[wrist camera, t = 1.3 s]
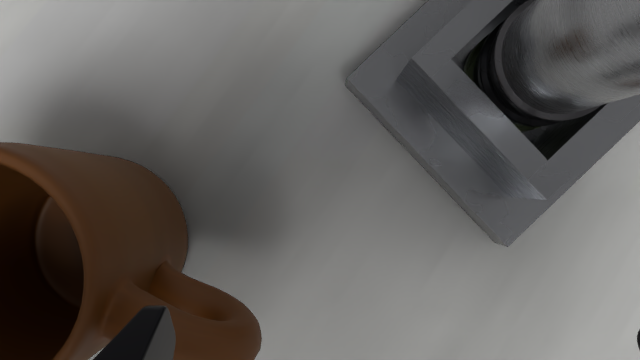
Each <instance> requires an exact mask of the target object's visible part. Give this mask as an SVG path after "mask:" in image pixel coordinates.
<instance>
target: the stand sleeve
mask: <svg viewBox="0 0 640 360" xmlns="http://www.w3.org/2000/svg"><path fill="white" fill-rule="evenodd" d="M526 1H528V0H428V1H427V2H426V3H425V4H424V5H423V6H422V7H421V8H420V9H419V10H418V11H417V12H416V13H415V14H414V15H413V16H412V17H410V18H409V19H408V20H407V21H406V22H405V23H404V24H403V25H402V26H401V27H400V28H399V29H398V30H397V31H396V32H395V33H394V34H393V35H391V36H390V37H389V38H388V39H387V40H386V41H385V42H384V43H383V44H382V45H381V46H380V47H379V48H378V49H377V50H376V51H375V52H374V53H372V54H371V55H370V56H369V57H368V58H367V59H366V60H365V61H364V62H363V63H362V64H361V65H360V66H359V67H358V68H357V69H356V70H355V71H354V72H352V73H351V74H350V75H349V76H348V77H347V79H346V83H345V86H346V87H347V88H348V89H349V90H350V91H351V92H352V93H353V94H354V95H355V96H356V97H357V98H358V99H359V100H360V101H361V102H362V104H363V105H364V106H365V107H366V108H367V109H368V110H369V111H370V112H371V113H372V114H373V115H374V116H375V117H376V118H377V119H378V120H379V121H380V122H381V123H382V125H383V126H384V127H385V128H386V129H387V130H388V131H389V132H390V133H391V134H392V135H393V136H394V137H395V138H396V139H397V140H398V141H399V142H400V143H401V144H402V146H403V147H404V148H405V149H406V150H407V151H408V152H409V153H410V154H411V155H412V156H413V157H414V158H415V159H416V160H417V161H418V162H419V163H420V164H421V166H422V167H423V168H424V169H425V170H426V171H427V172H428V173H429V174H430V175H431V176H432V177H433V178H434V179H435V180H436V181H437V182H438V183H439V184H440V185H441V187H442V188H443V189H444V190H445V191H446V192H447V193H448V194H449V195H450V196H451V197H452V198H453V199H454V200H455V201H456V202H457V203H458V204H459V205H460V206H461V208H462V209H463V210H464V211H465V212H466V213H467V214H468V215H469V216H470V217H471V218H472V219H473V220H474V221H475V222H476V223H477V224H478V225H479V226H480V228H481V229H482V230H483V231H484V232H485V233H486V234H487V235H488V236H489V237H490V238H491V239H492V240H493V241H494V242H495V243H498V244H501V245H504V246H507V247H508V246H509V245H510V244H511V243H512V242H513V241H514V240H515V239H516V238H517V237H518V236H519V235H521V234H522V233H523V232H524V231H525V230H526V229H527V228H528V227H529V226H530V225H531V224H532V223H533V222H534V221H535V220H536V219H537V218H538V217H539V216H540V215H541V214H543V213H544V212H545V211H546V210H547V209H548V208H549V207H550V206H551V205H552V204H553V203H554V202H555V201H556V200H557V199H558V198H559V197H560V196H561V195H562V194H564V193H565V192H566V191H567V190H568V189H569V188H570V187H571V186H572V185H573V184H574V183H575V182H576V181H577V180H578V179H579V178H580V177H581V176H582V175H583V174H585V173H586V172H587V171H588V170H589V169H590V168H591V167H592V166H593V165H594V164H595V163H596V162H597V161H598V160H599V159H600V158H601V157H602V156H603V155H604V154H605V153H607V152H608V151H609V150H610V149H611V148H612V147H613V146H614V145H615V144H616V143H617V142H618V141H619V140H620V139H621V138H622V137H623V136H624V135H625V134H626V133H628V132H629V131H630V130H631V129H632V128H633V127H634V126H635V125H636V124H637V123H638V122H639V121H640V94H639V95H635V96H632V97H628V98H625V99H621V100H617V101H614V102H610V103H607V104H603V105H601V106H600V107H598V108H597V109H596V110H594V111H592V112H591V113H589V114H586V115H584V116H582V117H578V118H575V119H571V120H567V121H562V122H559V123H556V124H552V125H548V126H542V127H539V128H536V129H533V130H529V131H524V132H520V131H519V129H518V128H517V127H516V126H515V125H514V124H513V123H512V122H511V121H510V120H509V119H508V118H507V117H506V116H505V115H504V114H503V113H502V112H501V111H500V110H499V108H498V107H497V106H496V105H495V104H494V103H493V102H492V101H491V100H490V99H489V98H488V97H487V96H486V95H485V94H484V93H483V92H482V91H481V90H480V89H479V88H478V86H477V85H476V84H475V83H474V82H473V81H472V80H471V79H470V78H469V77H468V76H467V75H466V74H465V73H464V72H463V69H464V65H465V62H466V60H467V58H468V56H469V54H470V52H471V51H472V50H473V48H474V47H475V46H476V45H477V44H478V43H479V42H480V41H481V40H482V39H483V38H484V37H486V36H487V35H488V34H489V33H491V32H492V31H493V30H494V29H495V28H496V27H497V26H498V25H499V24H500V23H501V22H503V21H504V20H505V19H506V18H507V17H508V16H509V15H510V14H511V13H512V12H513V11H515V10H516V9H517V8H518V7H519V6H520V5H522V4H523V3H525V2H526Z"/></svg>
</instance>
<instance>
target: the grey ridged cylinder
mask: <svg viewBox="0 0 640 360" xmlns="http://www.w3.org/2000/svg"><path fill="white" fill-rule="evenodd" d="M463 72H464V73H465V74H466V75H467V76H468V77H469V78H470V79H471V80H472V81H473V82H474V83H475V84H476V85H477V86H478V88H479V89H480V90H481V91H482V92H483V93H484V94H485V95H486V96H487V97H488V98H489V99H490V100H491V101H492V102H493V103H494V104H495V105H496V106H497V107H498V108H499V110H500V111H501V112H502V113H503V114H504V115H505V116H506V117H507V118H508V119H509V120H510V121H511V122H512V123H513V124H514V125H515V126H516V127H517V128H518V129H519V131H520V132H524V131H529V130H533V129H536V128H539V127H542V126H548V125H552V124H556V123H559V122H562V121H567V120H571V119H575V118H578V117H582V116H584V115H586V114H589V113H591V112H592V111H594V110H596V109H597V108H598V107H600V106H601V105H603V104H607V103H610V102H614V101H617V100H621V99H625V98H628V97H632V96H635V95H639V94H640V0H528V1H526V2H525V3H523V4H522V5H520V6H519V7H518V8H517V9H516V10H515V11H513V12H512V13H511V14H510V15H509V16H508V17H507V18H506V19H505V20H504V21H503V22H501V23H500V24H499V25H498V26H497V27H496V28H495V29H494V30H493V31H492V32H491V33H489V34H488V35H487V36H486V37H484V38H483V39H482V40H481V41H480V42H479V43H478V44H477V45H476V46H475V47H474V48H473V50H472V51H471V52H470V54H469V56H468V58H467V60H466V62H465V65H464V69H463Z"/></svg>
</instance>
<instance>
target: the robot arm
mask: <svg viewBox="0 0 640 360" xmlns="http://www.w3.org/2000/svg"><path fill="white" fill-rule="evenodd" d="M637 342H638V347H639V350H640V330H639V332H638V335H637ZM175 343H176V335H175V330H174V327H173V323H172V319H171V316H170V312H169V309H168V308H167V307H166V306H163V305H149V306H145V307H143V308H142V309H141V310H140V311H139V312H138V313H137V314H136V315H135V316H134V317H133V318H132V319H131V320H130V321H129V322H128V323H127V324H126V325H125V326H124V328H123V329H122V330H121V331H120V332H119V333H118V334H117V335H116V336H115V337H114V338H113V339H112V340H111V341H110V342H109V343H108V344H107V345H106V347H105V348H104V349H103V350H102V351H101V352H100V353H99V354H98V355H97V356H96V357H95V358H94V359H93V360H173V356H174V350H175Z"/></svg>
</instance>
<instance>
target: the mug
mask: <svg viewBox="0 0 640 360" xmlns="http://www.w3.org/2000/svg"><path fill="white" fill-rule="evenodd" d="M187 247H188V233H187V225H186V221H185V217H184V214H183V211H182V209H181V206H180V204H179V202H178V200H177V199H176V197H175V195H174V194H173V193H172V191H171V190H170V188H169V187H168V186H167V185H166V184H165V183H164V182H163V181H162V180H161V179H160V178H159V177H157V176H156V175H155V174H153V173H152V172H151V171H149V170H148V169H146V168H144V167H142V166H140V165H138V164H136V163H134V162H131V161H128V160H124V159H121V158H117V157H111V156H104V155H97V154H92V153H86V152H79V151H72V150H65V149H58V148H51V147H43V146H36V145H29V144H21V143H1V142H0V360H88V359H89V358H90V357H92V356H93V355H94V354H96V353H97V352H98V351H100V350H101V349H102V348H104V347H105V346H106V345H107V344H108V343H109V342H110V341H111V340H112V339H113V338H114V337H115V336H116V335H117V334H118V333H119V332H120V331H121V330H122V329H123V328H124V326H125V325H126V324H127V323H128V322H129V321H130V320H131V319H132V318H133V317H134V316H135V315H136V314H137V313H138V312H139V311H140V310H141V309H142V308H143V307H145V306H149V305H163V306H166V307H167V308H168V309H169V312H170V316H171V319H172V323H173V327H174V330H175V335H176V343H175V350H174V356H173V360H254V359H255V357H256V356H257V354H258V352H259V351H260V347H261V340H262V338H261V330H260V326H259V322H258V321H257V319H256V317H255V316H254V315H253V313H252V312H251V311H250V310H249V309H248V308H247V307H246V306H245V305H244V304H243V303H242V302H240V301H239V300H237V299H236V298H234V297H233V296H231V295H229V294H227V293H225V292H223V291H221V290H219V289H217V288H215V287H212V286H210V285H208V284H205V283H202V282H200V281H197V280H195V279H192V278H190V277H188V276H186V275H184V274H182V273H181V271H182V269H183V266H184V263H185V259H186V254H187Z"/></svg>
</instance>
